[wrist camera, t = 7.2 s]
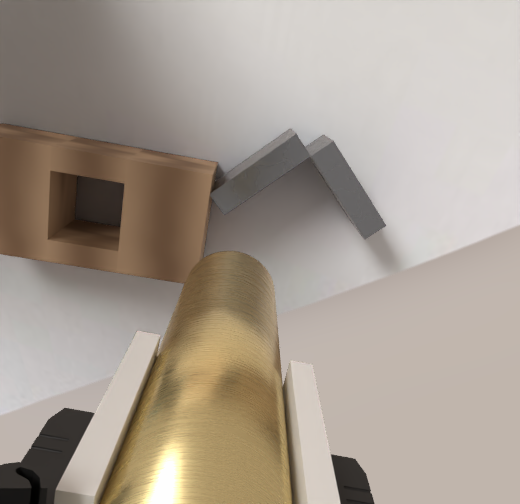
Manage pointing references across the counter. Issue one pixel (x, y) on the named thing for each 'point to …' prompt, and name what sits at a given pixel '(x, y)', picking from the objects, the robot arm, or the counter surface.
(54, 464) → the robot arm
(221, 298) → the axle
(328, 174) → the v block
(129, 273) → the wooden block with hole
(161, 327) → the counter surface
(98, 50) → the counter surface
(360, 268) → the counter surface
